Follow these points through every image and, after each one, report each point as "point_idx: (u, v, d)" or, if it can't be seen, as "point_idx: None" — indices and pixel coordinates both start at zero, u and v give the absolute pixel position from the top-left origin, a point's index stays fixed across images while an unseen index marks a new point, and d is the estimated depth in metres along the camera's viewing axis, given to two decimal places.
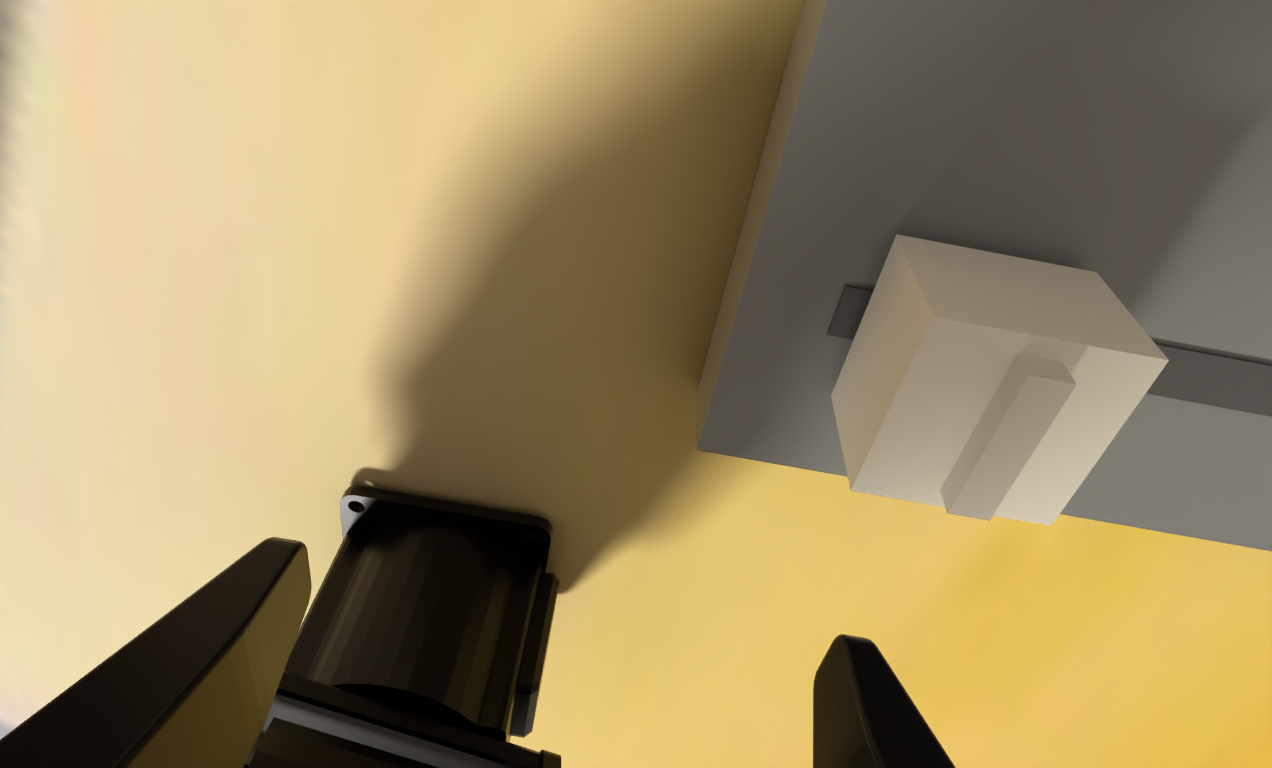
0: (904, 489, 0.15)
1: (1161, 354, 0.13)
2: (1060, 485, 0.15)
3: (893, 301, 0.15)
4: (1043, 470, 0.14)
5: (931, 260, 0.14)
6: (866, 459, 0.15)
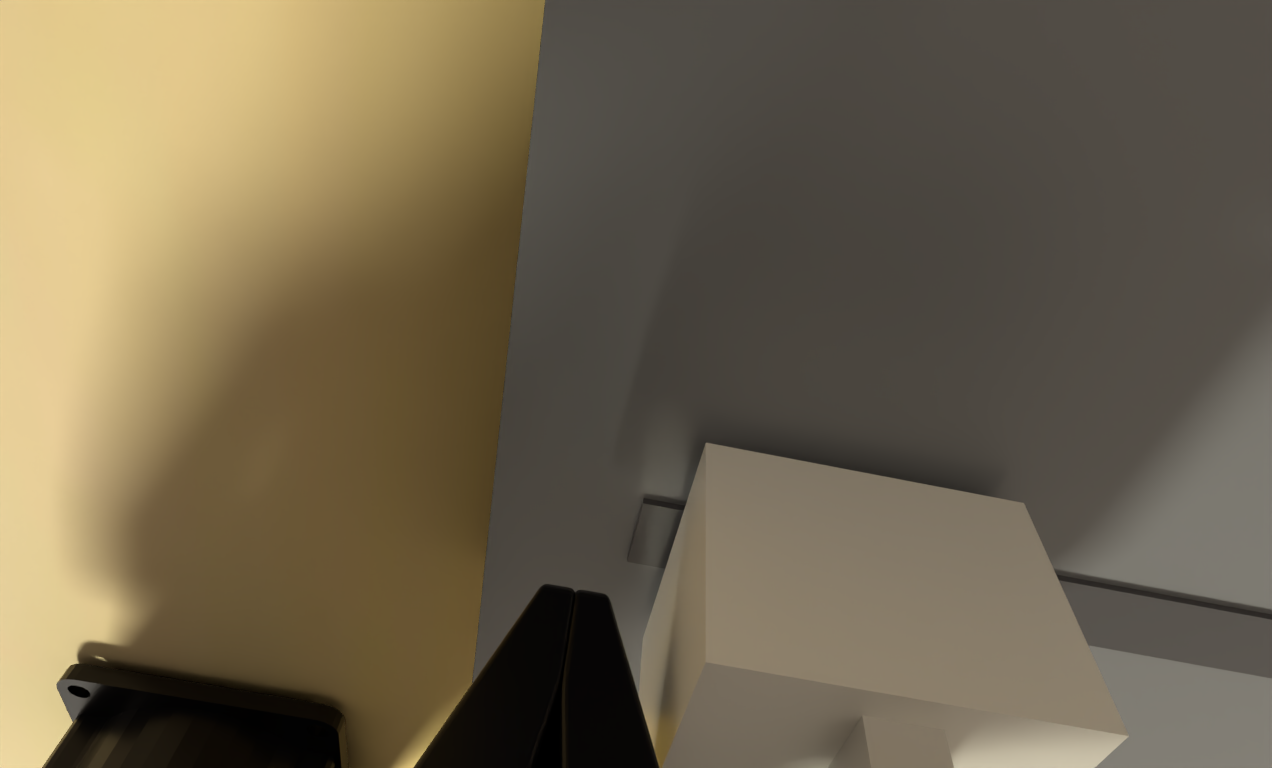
0: None
1: (1116, 718, 0.07)
2: None
3: (688, 563, 0.09)
4: None
5: (747, 502, 0.09)
6: None
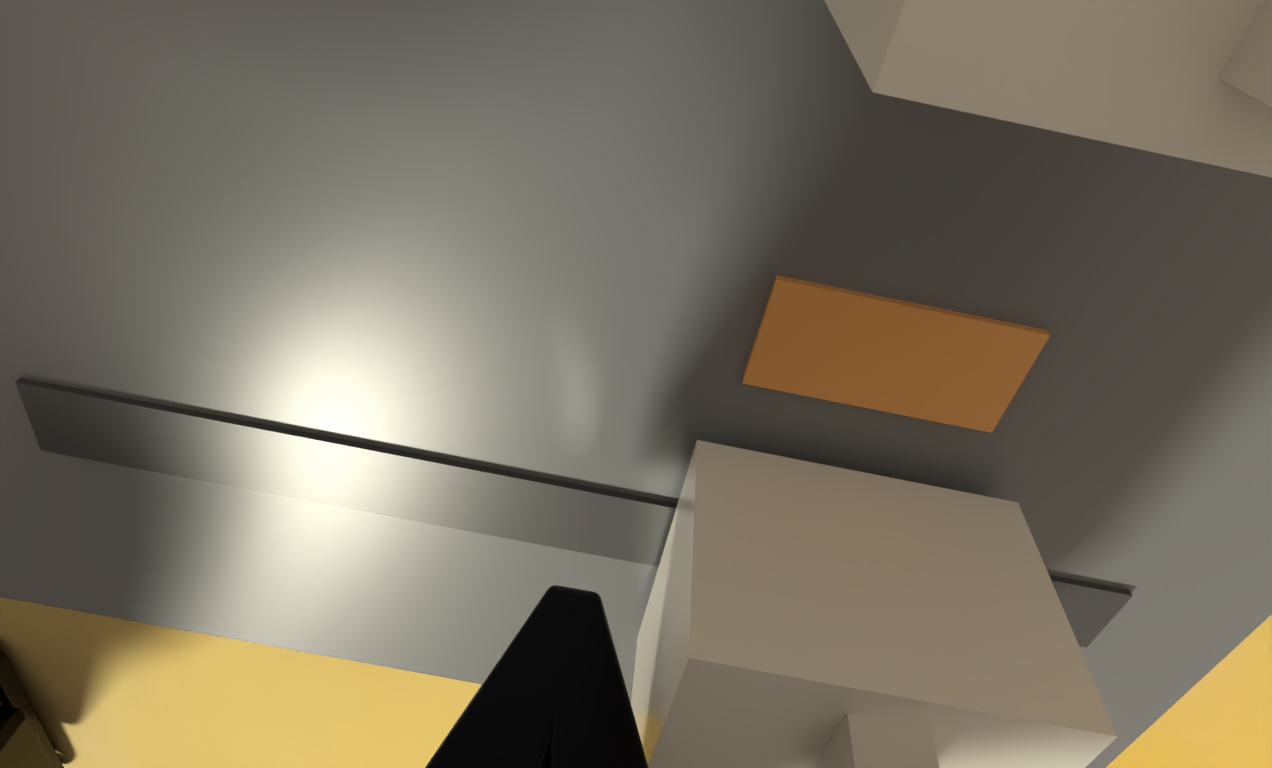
0: None
1: (1105, 719, 0.07)
2: None
3: (678, 560, 0.09)
4: None
5: (737, 500, 0.09)
6: None
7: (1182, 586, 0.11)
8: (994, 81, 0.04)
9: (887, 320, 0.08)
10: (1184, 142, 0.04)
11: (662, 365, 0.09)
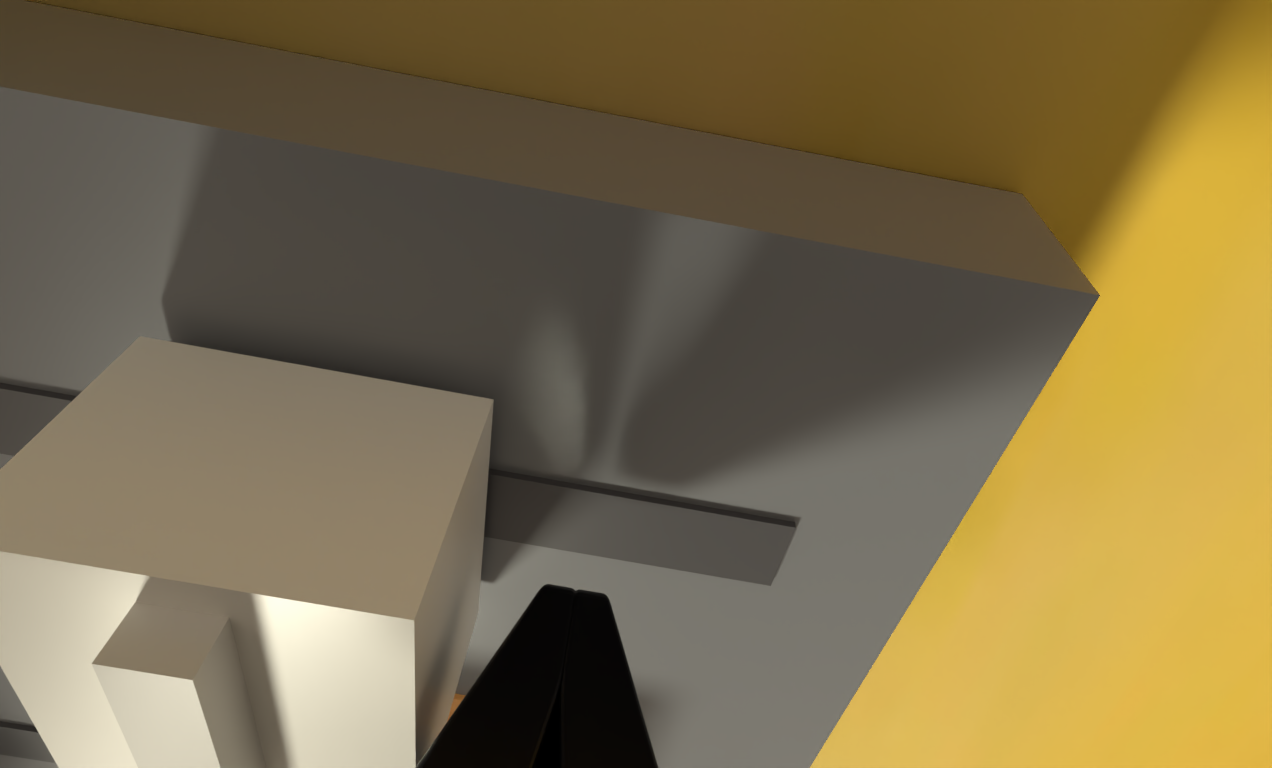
0: None
1: None
2: None
3: None
4: None
5: None
6: None
7: None
8: None
9: None
10: None
11: None
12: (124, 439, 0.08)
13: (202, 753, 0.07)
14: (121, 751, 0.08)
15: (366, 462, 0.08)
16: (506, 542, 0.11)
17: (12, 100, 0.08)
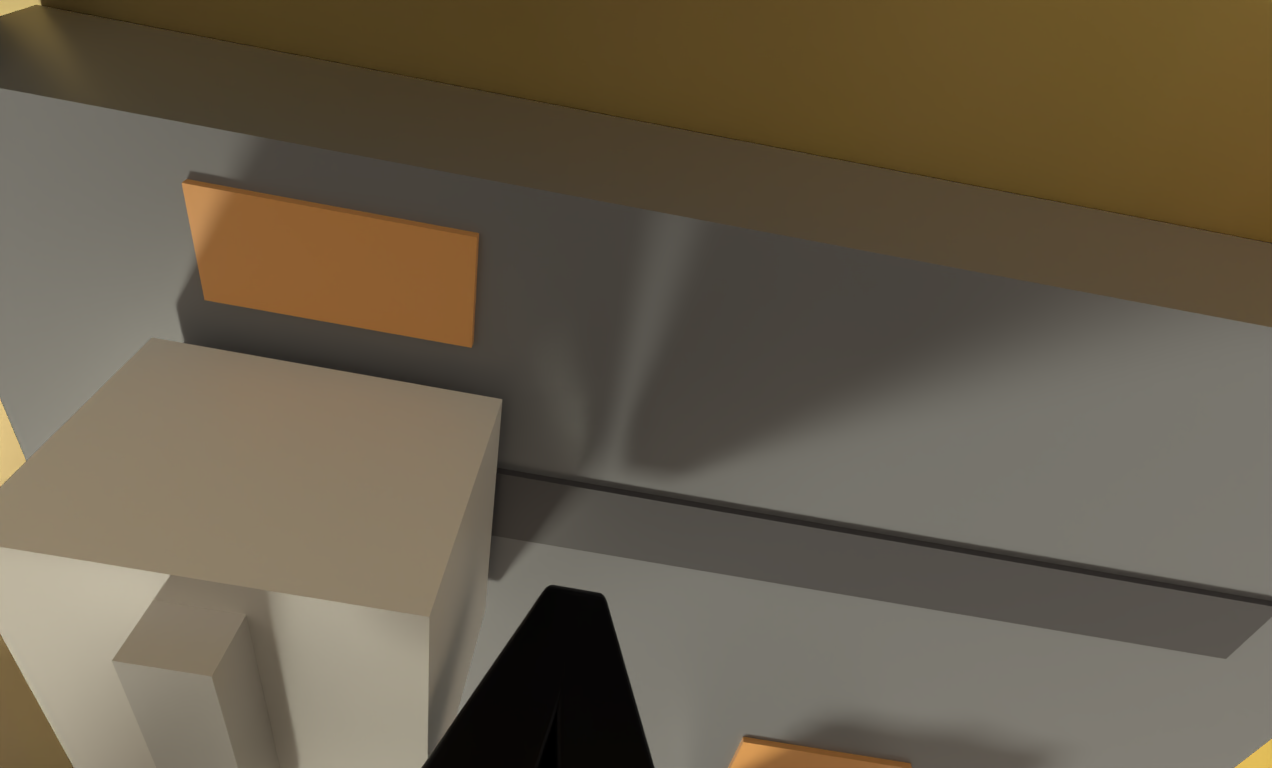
0: None
1: None
2: None
3: None
4: None
5: None
6: None
7: None
8: None
9: (812, 760, 0.14)
10: None
11: None
12: (139, 439, 0.08)
13: (219, 749, 0.07)
14: (135, 748, 0.08)
15: (378, 461, 0.08)
16: (970, 617, 0.11)
17: (692, 229, 0.08)
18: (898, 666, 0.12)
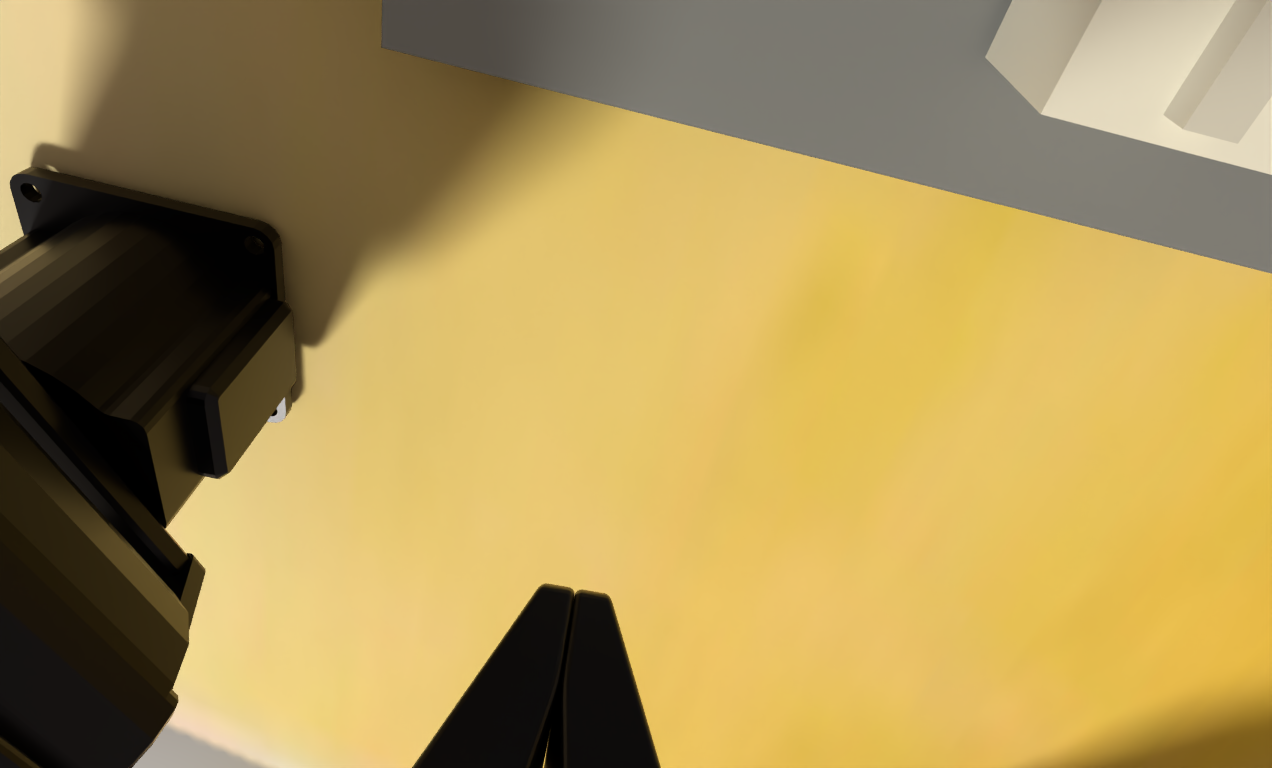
0: (1114, 112, 0.11)
1: None
2: None
3: None
4: None
5: None
6: (1073, 55, 0.11)
7: None
8: None
9: None
10: None
11: None
12: None
13: None
14: None
15: None
16: None
17: None
18: None
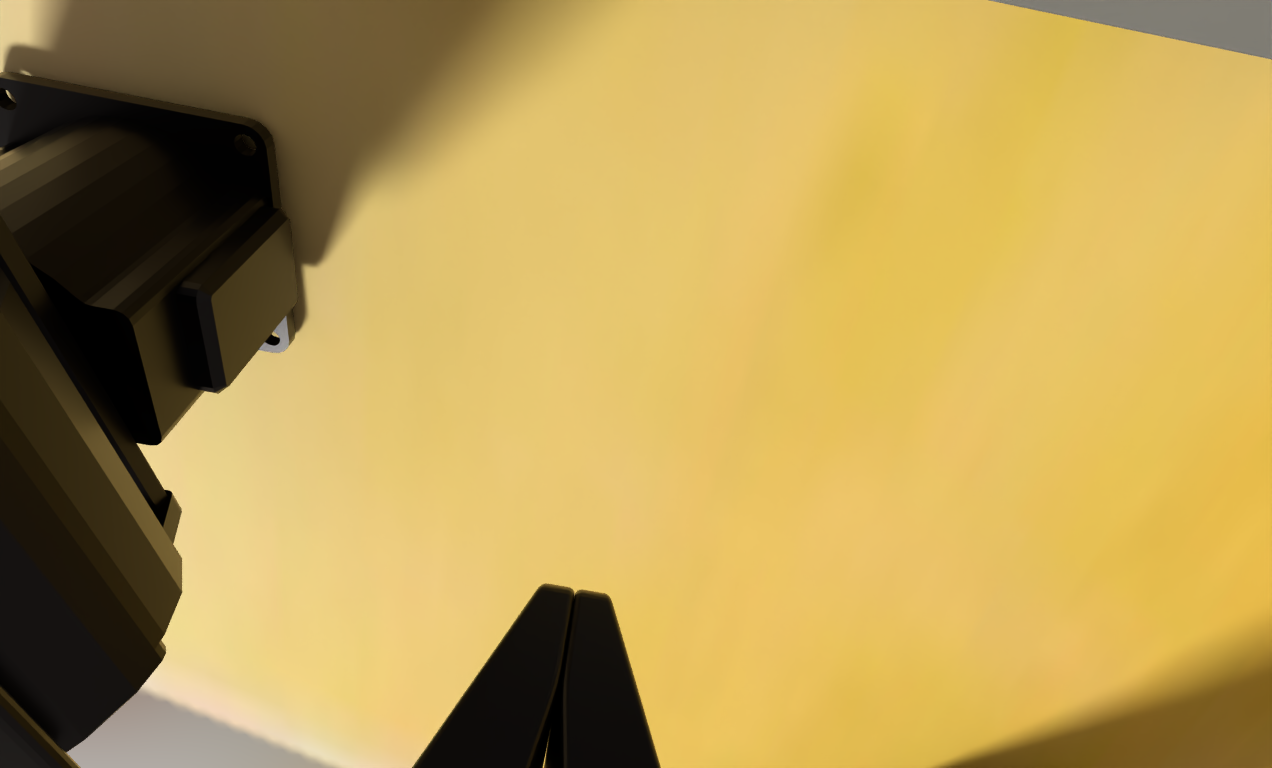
0: None
1: None
2: None
3: None
4: None
5: None
6: None
7: None
8: None
9: None
10: None
11: None
12: None
13: None
14: None
15: None
16: None
17: None
18: None
